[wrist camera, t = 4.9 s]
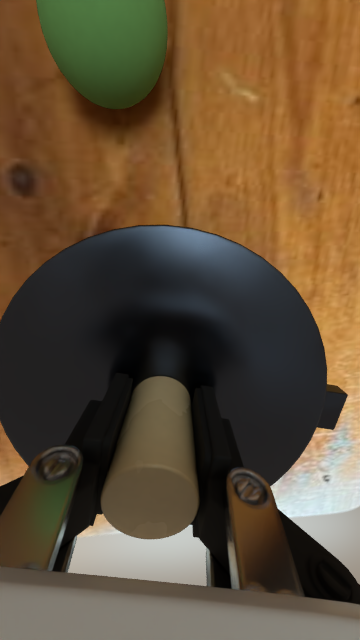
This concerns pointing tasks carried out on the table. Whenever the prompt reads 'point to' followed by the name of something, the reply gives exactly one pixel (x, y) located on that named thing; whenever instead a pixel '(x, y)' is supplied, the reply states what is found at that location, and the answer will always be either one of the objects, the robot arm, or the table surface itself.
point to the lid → (161, 362)
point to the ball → (107, 46)
